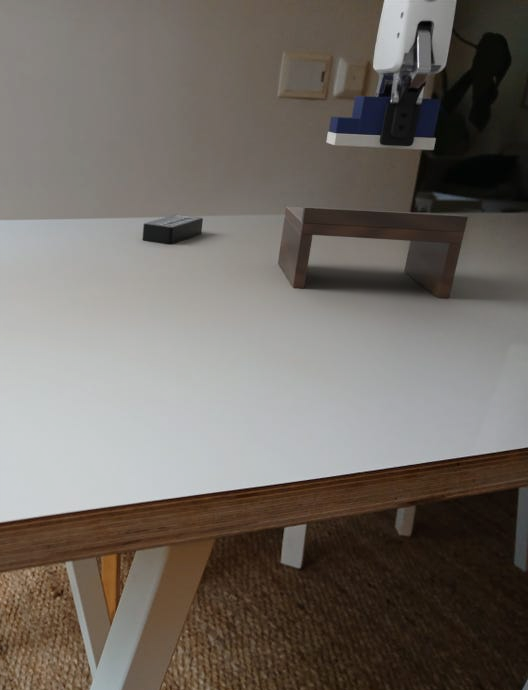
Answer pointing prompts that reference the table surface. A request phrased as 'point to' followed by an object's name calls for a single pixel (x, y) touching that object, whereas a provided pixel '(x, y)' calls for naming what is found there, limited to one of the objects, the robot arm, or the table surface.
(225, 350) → the table surface
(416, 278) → the shelf
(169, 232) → the multiport hub
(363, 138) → the trainer
